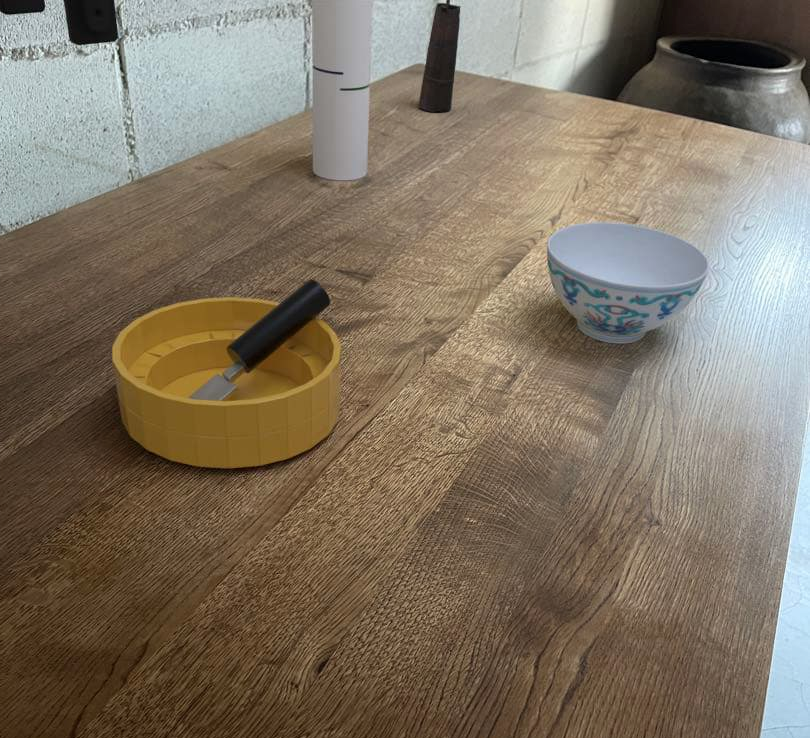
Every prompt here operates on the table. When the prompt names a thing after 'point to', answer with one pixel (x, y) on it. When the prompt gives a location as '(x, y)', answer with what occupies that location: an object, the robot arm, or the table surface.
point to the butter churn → (441, 59)
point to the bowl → (258, 390)
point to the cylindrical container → (341, 87)
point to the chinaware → (623, 277)
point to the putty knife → (266, 338)
